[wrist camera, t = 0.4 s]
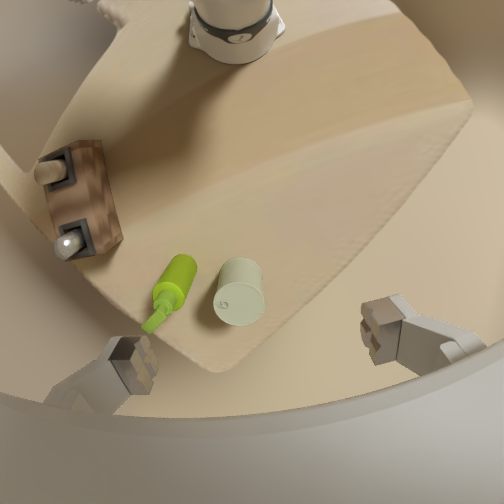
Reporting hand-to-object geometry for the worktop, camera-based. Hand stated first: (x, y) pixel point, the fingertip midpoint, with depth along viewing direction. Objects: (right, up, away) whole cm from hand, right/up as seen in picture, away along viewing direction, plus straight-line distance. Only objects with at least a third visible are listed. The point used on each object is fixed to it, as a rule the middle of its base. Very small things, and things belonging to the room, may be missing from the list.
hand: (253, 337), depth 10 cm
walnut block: (-35, +15, +44) cm, 58 cm away
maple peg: (-36, +19, +35) cm, 54 cm away
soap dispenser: (-15, 0, +50) cm, 52 cm away
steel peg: (-34, +6, +40) cm, 52 cm away
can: (-2, -2, +51) cm, 51 cm away
